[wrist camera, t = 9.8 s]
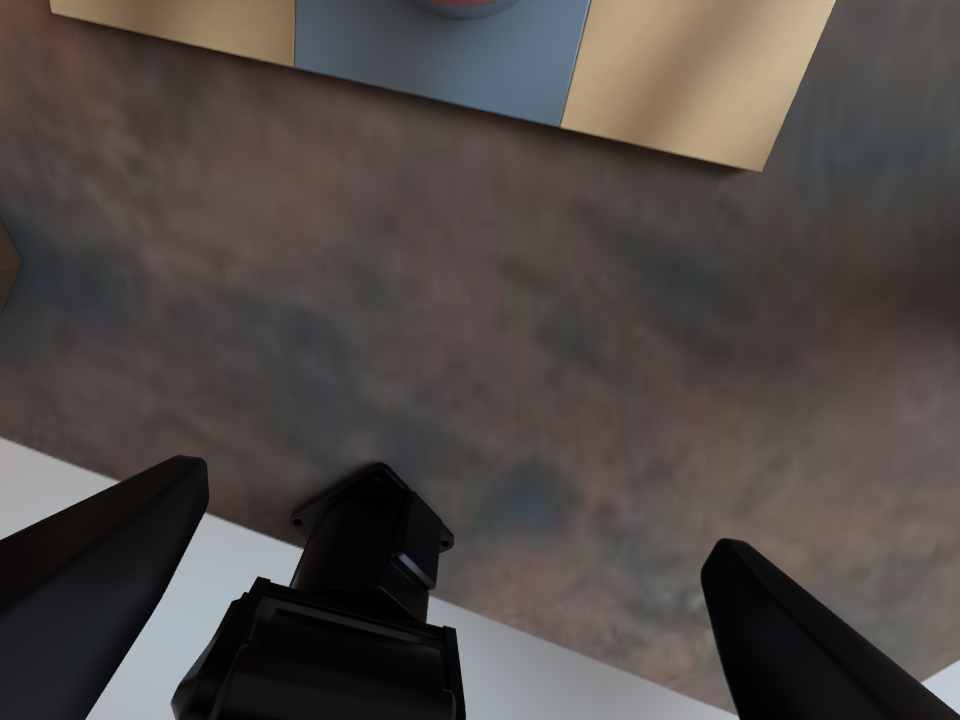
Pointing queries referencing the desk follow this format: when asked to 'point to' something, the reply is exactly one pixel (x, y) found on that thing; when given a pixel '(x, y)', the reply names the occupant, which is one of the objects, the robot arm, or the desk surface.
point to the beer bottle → (7, 265)
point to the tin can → (465, 7)
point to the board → (533, 59)
